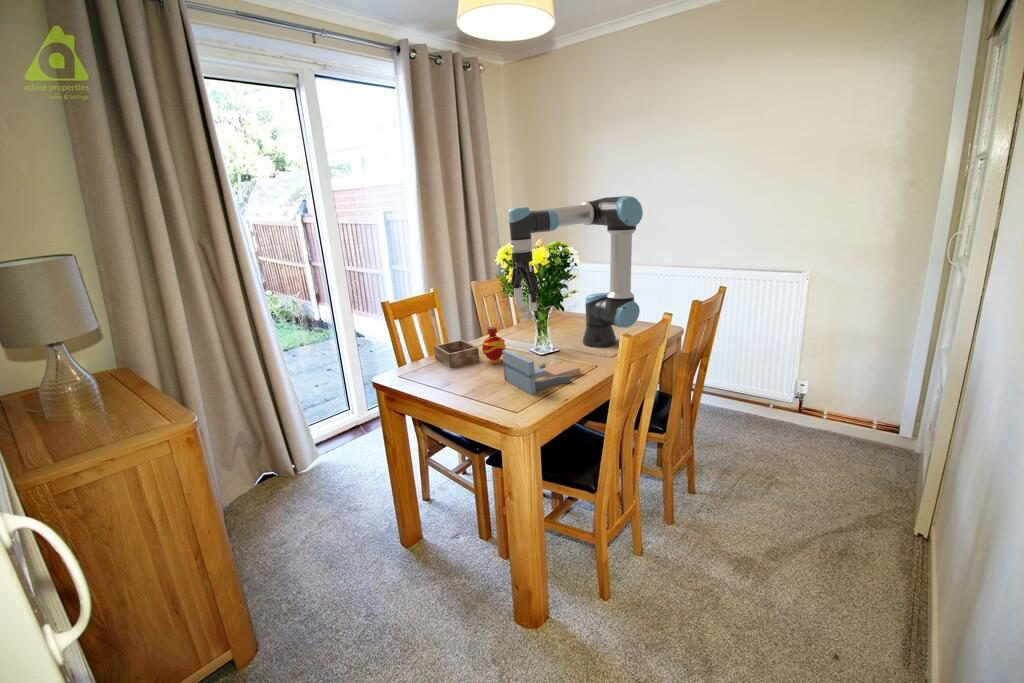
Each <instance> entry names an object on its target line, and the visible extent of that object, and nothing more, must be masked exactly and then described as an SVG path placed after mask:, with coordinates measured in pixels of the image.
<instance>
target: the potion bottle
mask: <svg viewBox="0 0 1024 683" xmlns="http://www.w3.org/2000/svg"><path fill="white" fill-rule="evenodd" d="M497 329H498V328H497V326H489V327H487V334H489V336H488V337H486V338H485V339H484V341H483V343H482V353H483V354H484V355H485V356H486V358H487V359H489V363H490V364H497V363H501V361H502V360H501V358H502V357H503V352H502V350H506V346H507V345H506V344H505V339H503V337H500V336H497V333H498V330H497Z"/></svg>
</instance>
